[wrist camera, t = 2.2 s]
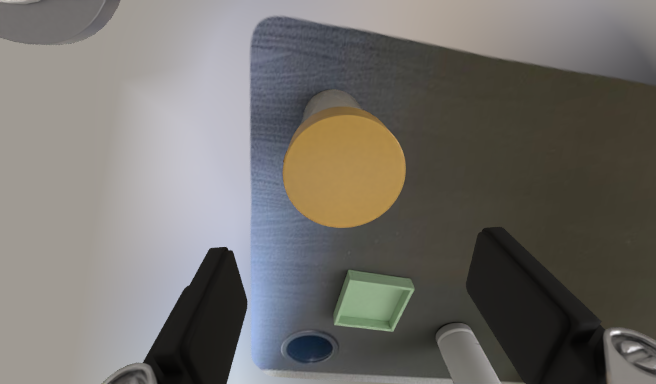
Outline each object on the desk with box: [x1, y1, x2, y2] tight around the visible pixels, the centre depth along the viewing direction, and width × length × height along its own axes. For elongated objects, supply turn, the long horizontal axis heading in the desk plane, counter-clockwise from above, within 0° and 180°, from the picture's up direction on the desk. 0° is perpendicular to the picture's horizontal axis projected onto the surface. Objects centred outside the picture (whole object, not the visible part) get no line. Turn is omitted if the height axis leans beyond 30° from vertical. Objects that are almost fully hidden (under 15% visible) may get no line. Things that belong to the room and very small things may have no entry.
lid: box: [283, 107, 406, 228], centre depth 17 cm, size 8×8×3 cm
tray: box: [333, 270, 414, 332], centre depth 41 cm, size 10×10×2 cm
